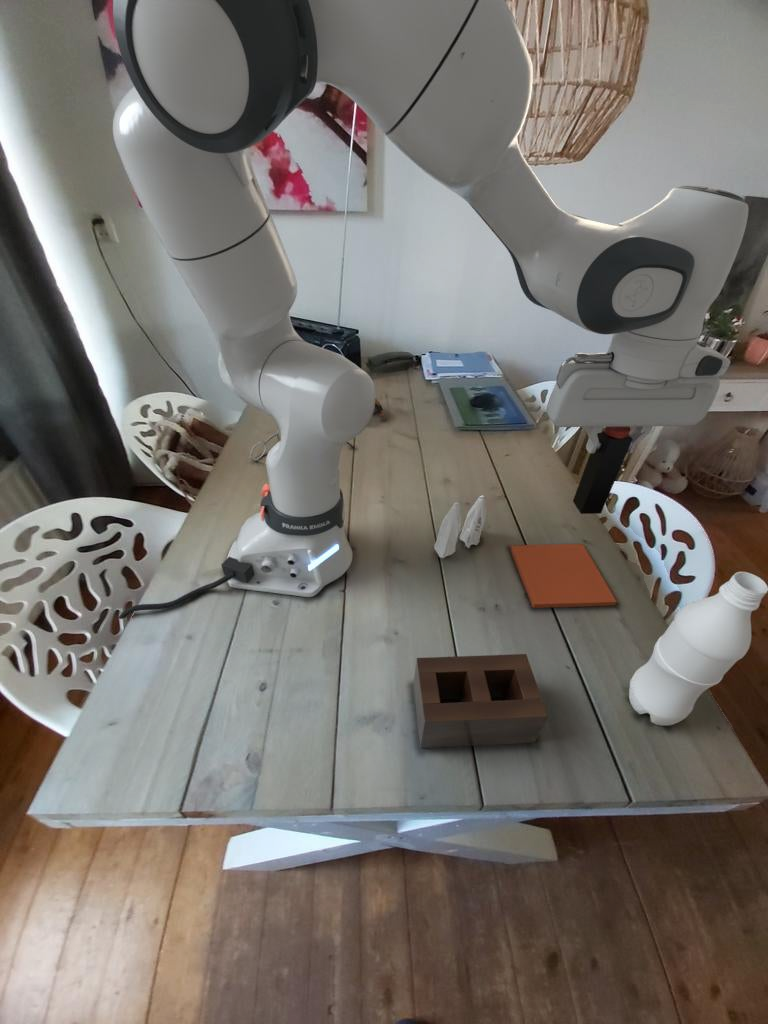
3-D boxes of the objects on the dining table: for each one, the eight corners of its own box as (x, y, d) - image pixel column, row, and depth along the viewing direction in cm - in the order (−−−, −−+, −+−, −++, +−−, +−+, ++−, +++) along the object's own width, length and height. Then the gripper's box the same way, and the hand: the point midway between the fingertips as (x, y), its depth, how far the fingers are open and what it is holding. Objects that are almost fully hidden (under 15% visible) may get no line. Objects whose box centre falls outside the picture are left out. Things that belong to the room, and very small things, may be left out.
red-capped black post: (580, 514, 67) (612, 432, 58) (572, 501, 70) (601, 421, 61) (601, 513, 67) (635, 432, 58) (592, 500, 70) (624, 420, 61)
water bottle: (656, 741, 56) (768, 621, 41) (611, 694, 61) (694, 570, 45) (692, 716, 59) (809, 594, 43) (645, 672, 64) (735, 549, 48)
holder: (534, 743, 56) (548, 716, 52) (420, 748, 55) (424, 722, 51) (515, 681, 62) (526, 653, 58) (413, 685, 62) (416, 657, 57)
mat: (533, 608, 73) (534, 604, 72) (509, 549, 84) (510, 545, 83) (615, 605, 73) (617, 601, 73) (581, 547, 84) (583, 543, 84)
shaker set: (440, 566, 80) (447, 519, 73) (425, 553, 82) (430, 506, 75) (486, 540, 85) (497, 495, 78) (471, 528, 88) (480, 483, 81)
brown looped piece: (388, 427, 121) (376, 406, 114) (358, 439, 123) (344, 420, 117) (384, 398, 128) (371, 377, 121) (355, 411, 130) (341, 391, 124)
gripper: (574, 362, 50) (544, 464, 59) (744, 362, 51) (690, 462, 60) (554, 344, 55) (529, 440, 64) (711, 344, 56) (665, 439, 65)
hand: (608, 451), depth 62 cm, fingers closed on red-capped black post, 3 cm apart
